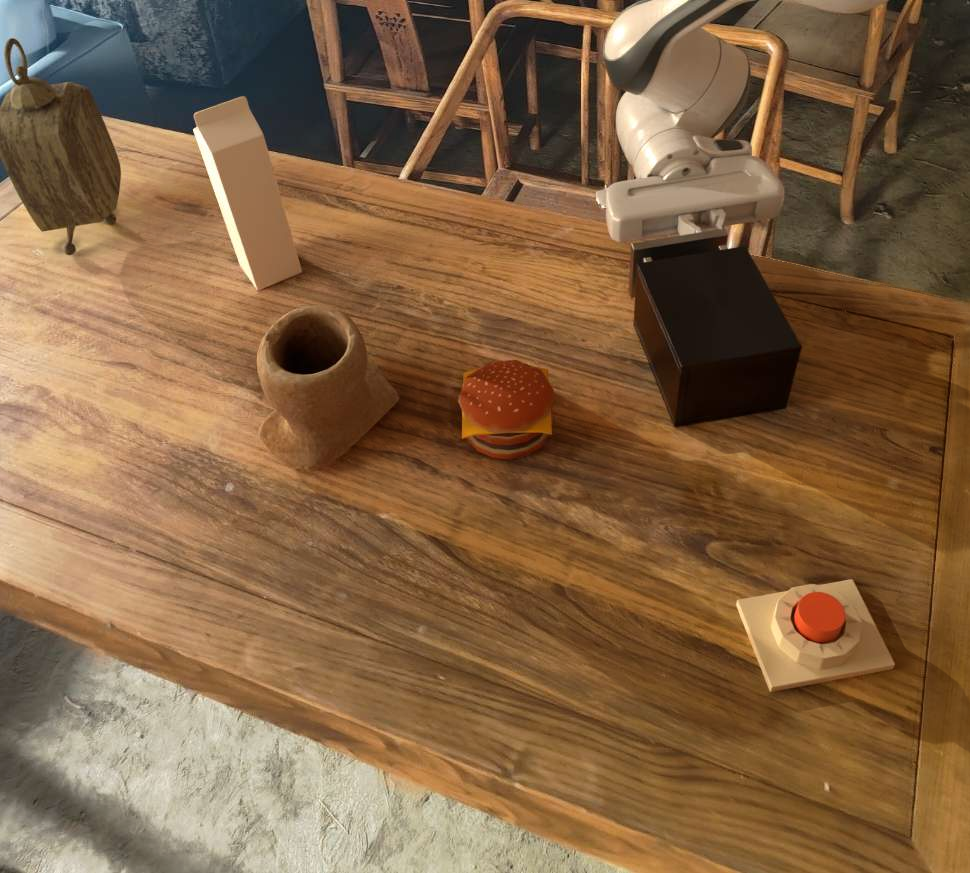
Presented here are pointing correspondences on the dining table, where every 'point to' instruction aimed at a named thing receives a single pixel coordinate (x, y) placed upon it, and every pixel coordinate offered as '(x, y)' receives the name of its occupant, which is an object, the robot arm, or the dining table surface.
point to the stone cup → (318, 387)
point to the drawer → (673, 249)
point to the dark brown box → (714, 336)
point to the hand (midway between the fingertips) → (713, 244)
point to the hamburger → (507, 408)
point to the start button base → (804, 660)
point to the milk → (247, 191)
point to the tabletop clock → (57, 152)
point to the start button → (819, 617)
